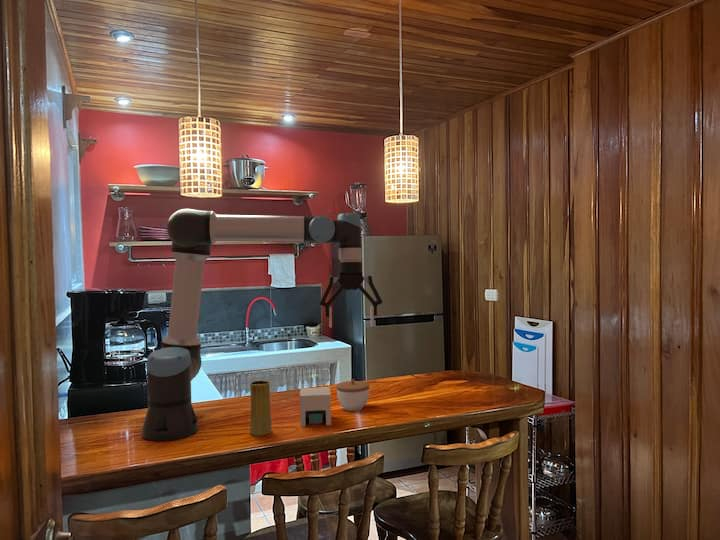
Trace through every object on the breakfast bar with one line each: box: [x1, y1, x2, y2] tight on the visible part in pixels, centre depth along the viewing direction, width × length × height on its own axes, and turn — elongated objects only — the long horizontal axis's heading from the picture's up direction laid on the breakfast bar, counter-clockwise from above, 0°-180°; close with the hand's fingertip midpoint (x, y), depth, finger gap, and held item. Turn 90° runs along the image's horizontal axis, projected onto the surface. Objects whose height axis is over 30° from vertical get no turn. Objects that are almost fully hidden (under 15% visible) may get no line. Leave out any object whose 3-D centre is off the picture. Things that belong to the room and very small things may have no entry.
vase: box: [249, 379, 273, 437], centre depth 146 cm, size 6×6×14 cm
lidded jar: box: [335, 378, 370, 412], centre depth 168 cm, size 11×11×9 cm
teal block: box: [308, 410, 324, 425], centre depth 155 cm, size 4×4×3 cm
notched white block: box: [299, 386, 332, 427], centre depth 155 cm, size 9×9×9 cm
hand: (351, 326), depth 168 cm, fingers open, 13 cm apart
